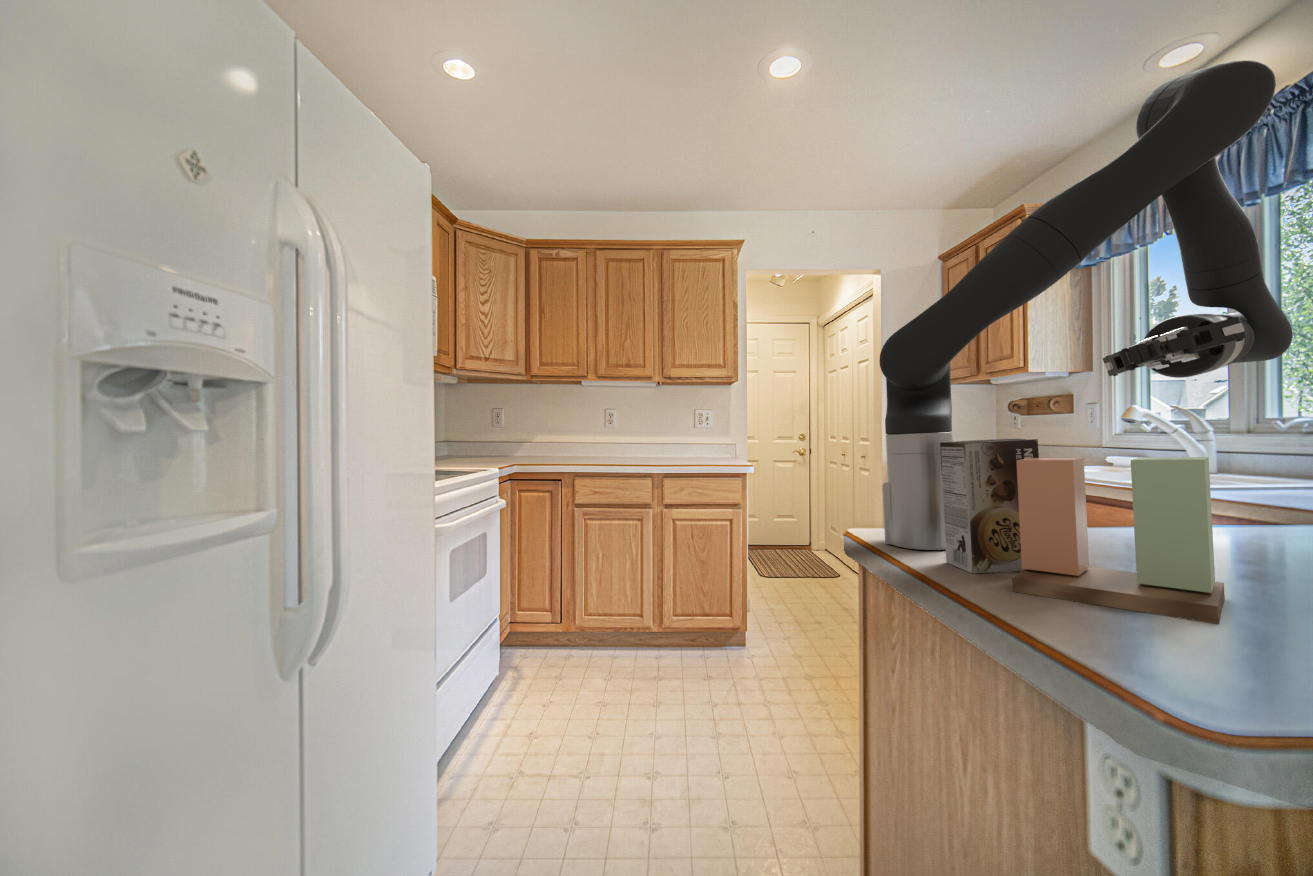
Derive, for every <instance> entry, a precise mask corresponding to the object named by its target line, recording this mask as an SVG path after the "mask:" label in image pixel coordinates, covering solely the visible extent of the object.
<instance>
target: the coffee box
mask: <svg viewBox="0 0 1313 876" xmlns="http://www.w3.org/2000/svg"><path fill="white" fill-rule="evenodd" d="M1038 440H1039V439H1038V438H1037V439H1035V438H1034V439H1033V438H1030V439H1026V438H995V439H993V438H992V439H989V438H988V439H975V440H974V439H973V440H971V439H970V440H960V441H959V440H958V441H953V442H941V443H940V452H941V471H942V490H943V508H944V525H945V544H946V549H945V560H946V561H945V562H946V563H947V564H949V565H951V566H954V567H957V568H958V569H960V570H963V571H966V572H968V573H970V574H988V573H992V574H993V573H1006V572H1007V573H1011V572H1012V573H1013V572H1021V571H1023V570H1025V569H1022V562H1021V541H1020V521H1019V500H1018V480H1017V460H1021V459H1028V458H1040V454H1039V441H1038Z"/></svg>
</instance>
